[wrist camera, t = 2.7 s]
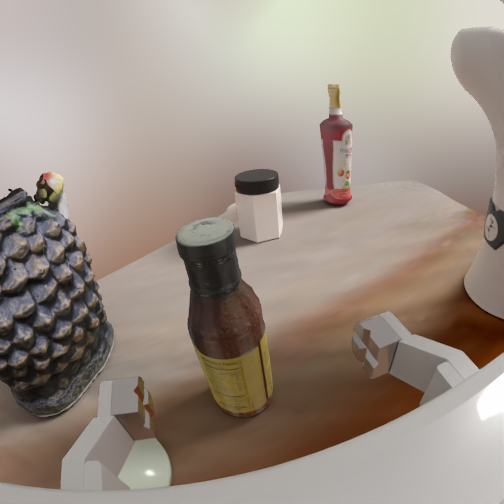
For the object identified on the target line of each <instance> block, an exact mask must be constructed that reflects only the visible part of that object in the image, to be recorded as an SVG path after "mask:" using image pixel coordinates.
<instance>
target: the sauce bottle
mask: <svg viewBox="0 0 504 504" xmlns="http://www.w3.org/2000/svg"><path fill="white" fill-rule="evenodd" d="M176 243H177V248H178V252H179V255H180V257H181V258H182V259H183V260H184V263H185V266H186V271H187V274H188V277H189V286H190V288H191V291H190V305H189V317H188V330H189V334H190V337H191V340H192V343H193V345H194V348H195V350H196V353H197V355H198V358H199V361H200V363H201V366H202V368H203V371H204V374H205V376H206V379H207V381H208V384H209V387H210V389H211V392H212V394H213V396H214V399H215V400H216V402H217V403H218V404H219V405H220V407H221V408H222V409H223V410H224V411H225V412H226V413H227V414H230V415H233V416H237V417H252V416H254V415H256V414H258V413H260V412H261V411H263V410H264V409H265V408H267V406H269V404H270V402H271V400H272V390H273V379H272V372H271V365H270V358H269V351H268V344H267V336H266V329H265V323H264V320H263V316H262V309H261V304H260V301H259V298H258V297H257V296H256V294H255V293H254V291H253V289H252V287H250V286H249V285H248V284H247V283H246V282H244V281H243V280H242V279H241V271H240V269H239V265H238V259H237V255H236V244H237V237H236V232H235V228H234V225H233V224H232V222H231V221H229V220H227V219H224V218H205V219H201V220H198V221H194V222H191V223H189V224H186V225H185V226H183V227H182V228H181V229H180V230H179V232H178V233H177V235H176Z"/></svg>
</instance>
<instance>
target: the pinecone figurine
mask: <svg viewBox="0 0 504 504" xmlns="http://www.w3.org/2000/svg"><path fill="white" fill-rule="evenodd" d="M63 183H64V179H63V178H62V176H61V175H58V174H55V173H52V172H49V173H44V174H42V175H41V176H40V179H39V181H38V182H37V184H36V185H37V188H38V189H37V192H36V194H35V195H34V199H35V201H33V199H32V197H31V196H27V192H26V191H24V190H23V189H22V188H18V189H15V190H13V191H12V190H11V189H8V190H9V191H11V193H10V194H9V195H8V196H7V197H6V198H5V197H4V198H3V199H1V200H0V380H1V381H2V382H4V383H6V384H7V385H8V386H9V387H10V388H11V391H12V393H13V395H14V397H15V399H16V401H17V403H18V404H19V405H20V406H21V407H23V408H24V409H26V410H27V411H29V412H30V413H32V414H34V415H36V416H38V417H48V416H52V415H56V414H59V413H61V412H63V411H64V410H66V409H68V408H70V407H71V406H72V405H73V404H74V403H76V401H77V400H78V399H79V398H80V397H81V396H82V394H83V393H84V392H85V391H86V390H87V388H88V387H89V386H90V384H92V381H93V379H95V378H96V377H97V375H98V374H99V373H100V372H101V371H102V370H103V368H104V367H105V365H106V363H107V360H108V358H109V357H110V353H111V350H112V348H113V343H114V330H113V328H112V325H111V324H110V323H109V322H108V321H107V316H106V313H105V310H103V308H104V306H103V304H102V302H101V301H102V297H101V294H100V293H99V292H98V289H99V285H98V284H97V282H96V280H95V279H94V277H95V275H94V274H93V272H92V270H91V266H90V264H91V261H92V259H91V257H90V255H89V253H88V251H87V248H86V246H85V243H84V242H83V241H82V240H81V239H80V238H79V237H78V236H77V234H76V226H75V225H74V224H73V223H71V222H70V221H69V214H68V207H67V206H68V205H67V201H66V198H65V194H64V190H63ZM45 201H48V203H49V205H48V206H42V205H40V204H39V203H38V202H40V203H41V204H44V203H45Z"/></svg>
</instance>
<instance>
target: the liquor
mask: <svg viewBox="0 0 504 504" xmlns="http://www.w3.org/2000/svg"><path fill="white" fill-rule="evenodd" d="M328 93H329V97H330V108H329V118H328V119H326V120H324V121H323V122H322V123H321V124H320V131H321V141H322V152H323V161H324V175H325V195H324V199H325V200H327V201H328V202H329V203H330V204H332V205H344V204H346V203H347V202H348V201H350V200H351V199H352V196H351V194H350V181H351V178H350V177H351V157H352V124H351V123H350V122H349V121H347V120H345V119H343V118H342V111H341V104H340V85H328Z"/></svg>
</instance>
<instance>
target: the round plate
mask: <svg viewBox="0 0 504 504" xmlns="http://www.w3.org/2000/svg"><path fill="white" fill-rule="evenodd" d="M172 477H173V474H172V465H171V461H170V458H169V456H168V454H167V452H166V451H165V449H164V448H163V446H162V445H161V444H160V443H159V441H158V440H157V439H156V438H150V439H144V440H137V441H135V443H134V445H133V447H132V449H131V451H130V453H129V455H128V457H127V459H126V461H125V463H124V465H123V467H122V469H121V471H120V473H119V475H118V478H119V479H120V480H121V481H122V482H124V483H125V484H126V485H127V486H129V487H130V490H135V489H149V488H160V487H169V486H171V484H172Z"/></svg>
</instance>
